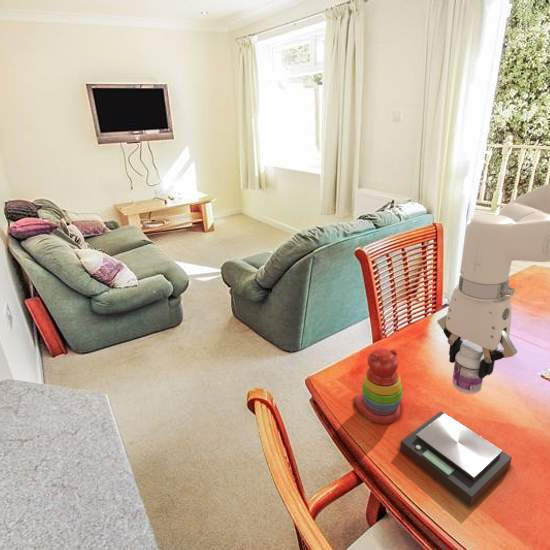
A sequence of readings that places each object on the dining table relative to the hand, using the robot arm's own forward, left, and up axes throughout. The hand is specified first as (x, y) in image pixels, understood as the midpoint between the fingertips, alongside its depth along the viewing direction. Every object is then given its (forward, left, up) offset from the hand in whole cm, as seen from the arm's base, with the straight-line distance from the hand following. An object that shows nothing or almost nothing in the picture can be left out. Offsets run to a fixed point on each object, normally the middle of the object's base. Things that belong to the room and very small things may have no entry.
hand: (469, 366), depth 74 cm
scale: (-2, +4, -21) cm, 22 cm away
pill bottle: (0, 0, -5) cm, 5 cm away
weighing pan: (-2, +3, -18) cm, 18 cm away
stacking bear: (+17, +5, -21) cm, 28 cm away
